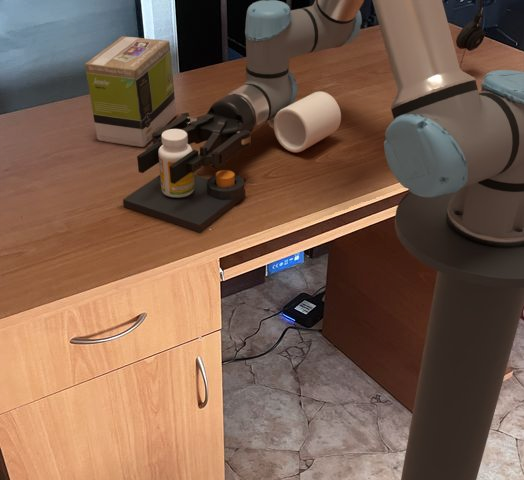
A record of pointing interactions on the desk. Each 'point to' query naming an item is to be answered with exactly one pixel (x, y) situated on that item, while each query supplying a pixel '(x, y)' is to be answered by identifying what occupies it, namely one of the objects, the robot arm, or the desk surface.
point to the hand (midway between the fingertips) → (155, 169)
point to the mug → (306, 121)
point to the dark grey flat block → (187, 202)
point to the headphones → (471, 33)
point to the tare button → (225, 178)
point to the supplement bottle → (170, 154)
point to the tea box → (131, 90)
